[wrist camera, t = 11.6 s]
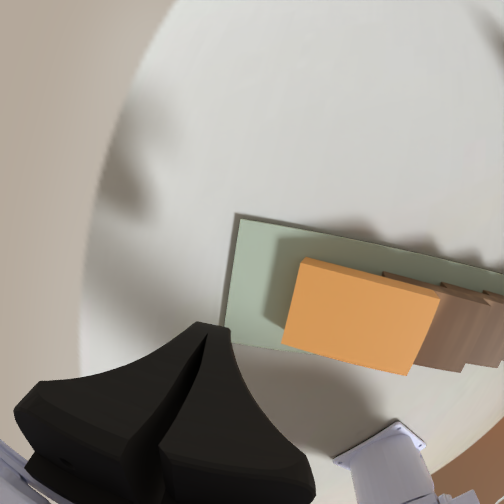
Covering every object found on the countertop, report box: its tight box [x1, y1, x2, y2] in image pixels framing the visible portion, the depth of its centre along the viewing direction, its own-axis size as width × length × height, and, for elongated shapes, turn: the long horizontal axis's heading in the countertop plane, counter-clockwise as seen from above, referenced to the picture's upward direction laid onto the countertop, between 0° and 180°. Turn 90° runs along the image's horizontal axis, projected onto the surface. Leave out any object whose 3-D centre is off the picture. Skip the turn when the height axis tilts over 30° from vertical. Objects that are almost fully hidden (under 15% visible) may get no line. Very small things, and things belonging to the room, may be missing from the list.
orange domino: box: [281, 257, 440, 376], centre depth 14 cm, size 2×5×8 cm
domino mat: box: [224, 218, 504, 355], centre depth 16 cm, size 34×8×1 cm, turn 81°
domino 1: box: [382, 271, 491, 373], centre depth 14 cm, size 2×5×8 cm
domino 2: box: [440, 282, 504, 368], centre depth 14 cm, size 2×5×8 cm
